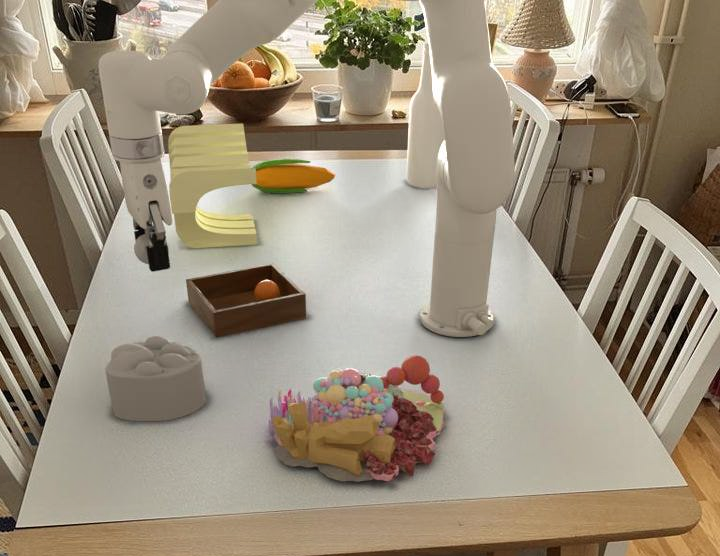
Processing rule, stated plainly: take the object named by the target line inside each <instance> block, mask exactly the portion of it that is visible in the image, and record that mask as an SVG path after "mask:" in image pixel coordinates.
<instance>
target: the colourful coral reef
mask: <svg viewBox="0 0 720 556" xmlns="http://www.w3.org/2000/svg"><path fill="white" fill-rule="evenodd" d="M430 372H431V368H430V363H429V362H428V361H427V359H426V358H424V357H423V356H421V355H418V354H413V355H410V356H408V357H406V358H405V359H404V360H403V362H402V363H401V367H400V366H392V367H390V368H389V369H388V371H387V373H386V376H380V375H374V374H372V373H366V372H364V373H361V372H359V371H358V370H357V369H356V368H353V367H347V368H345V369H343V370H342V369H340V368H335V369H333V370H332V371H331V372H330V374H329V376H328V377H323V376H322V377H318V378H317V379H315V381H314V382H313V383H312V387H313V390H314V391H315V393H314V394H313V396H312V398H311V397H307V398H305V396H304V395H303V396H301V390H299V391H298V393H297V395H296V396H297V400H296V396H293V395H292V393H293V392H292V388H291V387H290V388H289V389H288V390H287V393H286V394H285V395H283V401H282V391H281V389H278V393H277V403H278V407H277V405H276V404H275V403H274V402H273V397H271V398H270V400H269V412H270V413H269V414H270V415H269V417H270V418H269V419H268V427H269V428H268V431H269V437H270V443H273V439H274V440H275V442H276V443H277V445H276V447H275V448H274V453H275V455H276V456H275V457H276V459H277V460H278V461H282V463H283V464H284V465H286V466H289V467H292V468H293V467H303V468H317V469H318V470H319V472H320V473H321V474H324V475H325V476H326V477H327V478H330V479H332V480H336V481H338V482H349V481H353V482H356V483H357V482H358V483H359V482H365V481H372V480H376V481H384V482H391V481H393V480H394V479H395V478H397V476H398V475H399V474H400V473H399V471H402V472H404V473H405V474H407V475H409V476H411V477H412V478H413V477H414V475H415V474H414V473H415V468H416V464H420V463H423V464H424V465H425V466H426V467H429V466H430V464H431V462H432V460H433V459H434V457H435V455H436V452H434V450H435V446H436V442H435V441H434V439H435V438H436V437H437V436H440V435H441V434H442V433H441V432H442V430H443V428H444V423H445V422H444V418H445V411H444V409H443V408H444V406H445V405H444V403H443V401H444V398H445V395H444V393H443V391H441V390H440V387H441V382H440V379H439V378H438V376H436V375H435V374H430ZM404 382H406V383H408V384H410V385H414V386H417V385H420V388H421V390H422V392H424V393H425V394H429V395H430V397H428V396H424V395H422V394H420V393H419V392H414V391H412V390H405V389H402V388H399V386H401V385H402V384H403V383H404Z"/></svg>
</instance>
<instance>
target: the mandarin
mask: <svg viewBox="0 0 720 556" xmlns="http://www.w3.org/2000/svg"><path fill="white" fill-rule="evenodd" d="M279 296H280V290H279V288H278V286H277V285H276V283H274V282H273V281H270V280H264V281H261V282H260V283H258V284H257V286H256V288H255V298H256V300H257V301H258V302H260V301H265V300H270V299H274V298H279Z"/></svg>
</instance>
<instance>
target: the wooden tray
mask: <svg viewBox="0 0 720 556" xmlns="http://www.w3.org/2000/svg"><path fill="white" fill-rule="evenodd" d="M264 280H270V281H273V282H274V283H276V285H277V286H278V288H279V290H280V296H279V298H274V299H270V300H265V301H260V302H258V301H257V300H256V298H255V288H256V286H257V284H258V283H260V282H261V281H264ZM185 283H186V292H187V300H188V304H189V305H190V307H191V308H192V309H193V311H194V312H195V313H196V314H197V316H198V317H199V318H200V319H201V321H202V322H203V323H204V324H205V326H206V327H207V328H208V329H209V331H210V332H211V333H212V334H213V336H214V337H215V338H220V337H225V336H229V335H230V336H231V335H235V334H239V333H244V332H248V331H249V332H250V331H253V330H258V329H262V328H267V327H272V326H275V325H281V324H285V323H290V322H295V321H299V320H305V319H307V298H306V297H307V295H306V293H305V292H304V291H303V290H302V289H301V288H300V287H299V286H298V285H296V283H294V281H293V280H292V279H290V278H289V276H287V275H286V274H285V273H284V272H283V271H282V270H281V269H280V268H279V267H278V266H276V264H275V263H274V262H271V263H266V264H260V265H256V266H250V267H245V268H240V269H235V270H229V271H224V272H218V273H214V274H213V273H211V274H207V275H202V276H197V277H191V278H186V279H185Z"/></svg>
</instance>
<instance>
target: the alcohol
mask: <svg viewBox="0 0 720 556" xmlns="http://www.w3.org/2000/svg"><path fill="white" fill-rule="evenodd" d="M422 48H423V51H422V54H423V55H422V64H421V72H420V79H419V85H418V88H417V91H416V92H415V93H414V94H413V96H412V97H411V99H410V102H409V108H408V128H407V129H408V131H407V132H408V133H407V152H406V153H407V154H406V174H405V175H406V176H405V179H406V181H407V183H408V185H410V186H411V187H415V188H419V189H433V188H437V159H438V154H439V150H440V148H441V145H442V143H443V142H444V140H445V139H444V131H443V124H442V118H441V115H440V113H439V112H438V110H437V108H436V105H435V102H434V99H433V87H432V71H431V61H430V52H429V43H428V42H427V43H424V44H423V47H422Z"/></svg>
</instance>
